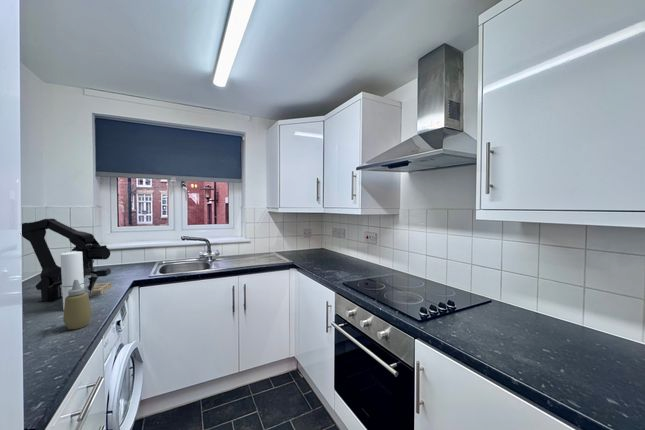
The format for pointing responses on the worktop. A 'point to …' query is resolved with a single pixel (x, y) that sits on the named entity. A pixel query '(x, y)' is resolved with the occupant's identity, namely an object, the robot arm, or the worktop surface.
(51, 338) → the worktop surface
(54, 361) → the worktop surface
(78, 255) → the cylindrical container
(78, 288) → the squeeze bottle
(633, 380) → the worktop surface
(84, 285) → the clip
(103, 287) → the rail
